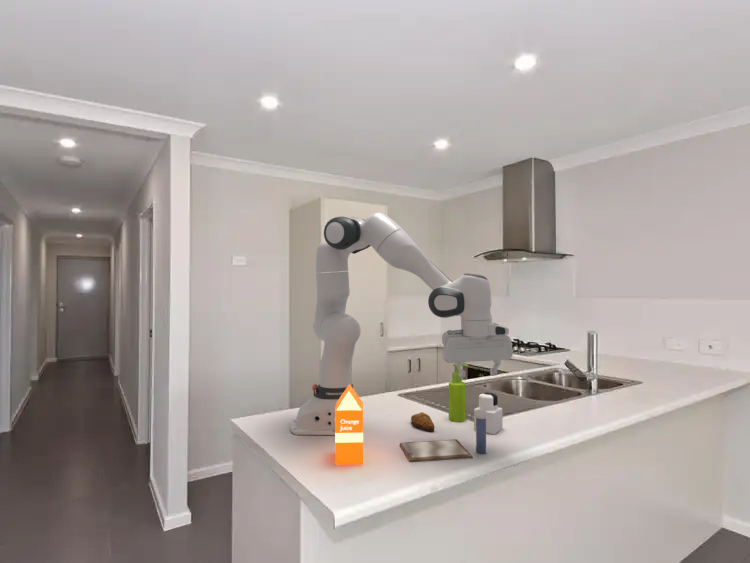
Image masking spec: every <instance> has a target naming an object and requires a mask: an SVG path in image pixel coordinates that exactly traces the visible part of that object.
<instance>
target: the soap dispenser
mask: <svg viewBox="0 0 750 563" xmlns="http://www.w3.org/2000/svg"><path fill="white" fill-rule="evenodd" d="M452 366H453V367H454V371H453V372H452V378H451V379H452V381H449V382H448V420H449V421H450V422H454V423H462V422H465V421H466V398H467V397H466V382H464V381H463V377H462V378H461V377H460V376H459V370H458V369H457V367H456V365H455V363H452ZM461 367H464V368H465V367H466V368H468V367H469V364H466V363H462V366H461Z"/></svg>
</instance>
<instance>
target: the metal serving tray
mask: <svg viewBox="0 0 750 563" xmlns="http://www.w3.org/2000/svg"><path fill="white" fill-rule="evenodd" d="M399 446H400V448H401V449H402V451H403V452H404V454H405V456H406V458H407V459H408V461H409V463H414V462H415V463H416V462H432V461H446V460H447V461H449V460H460V459H473V457H474V456H473V454H472V453H471V452H470V451H469V450H468V449H467V448H466V447H465V446H464V445H463V444H462V443H461V442H460V441H459V440H458V439H456V438H455V439H440V440H424V441H410V442H409V441H405V442H403V441H402V442H399Z"/></svg>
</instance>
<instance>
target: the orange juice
mask: <svg viewBox="0 0 750 563" xmlns="http://www.w3.org/2000/svg"><path fill="white" fill-rule="evenodd" d="M334 436H335V437H334V442H335V445H334V446H335V447H334V448H335V453H334V454H335V457H334V458H335V462H334V463H335V465H336V466H340V465H341V466H345V465H347V466H349V465H353V466H355V465H364V402H363V400H362V399H361V398H360V396H359V395H358V393H357V392H356V390H355V389H354V387H353V388H352V387H351V385H350V384H349V385H348V387H347V388H346V390H345V391H344V393H343V394H342V396H341V397H340V398H339V400H338V401H337V403H336V408H335V435H334Z"/></svg>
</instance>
